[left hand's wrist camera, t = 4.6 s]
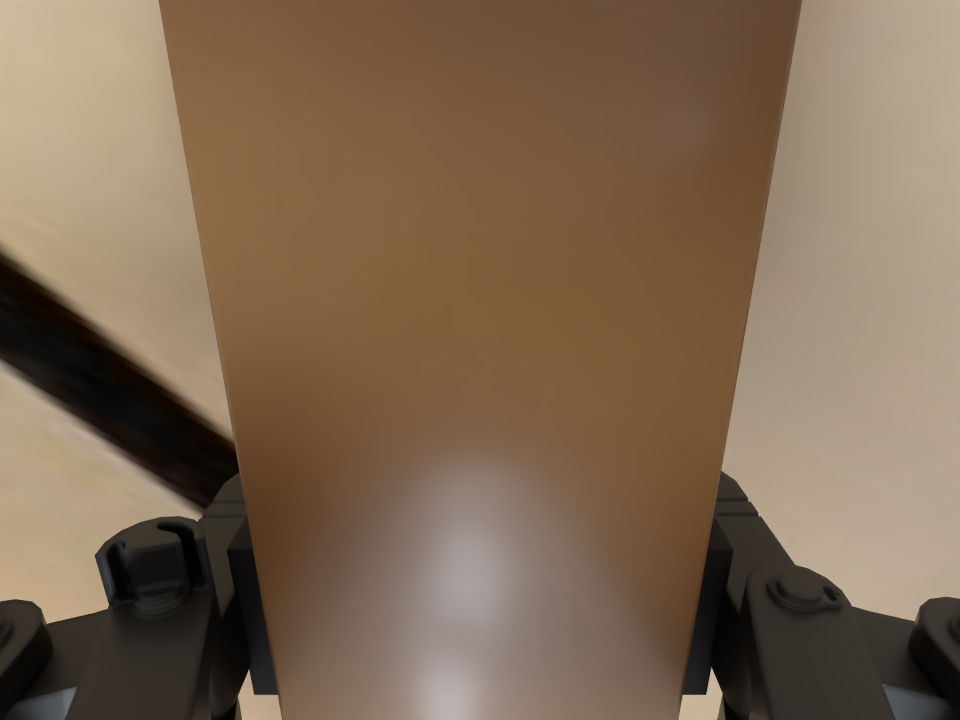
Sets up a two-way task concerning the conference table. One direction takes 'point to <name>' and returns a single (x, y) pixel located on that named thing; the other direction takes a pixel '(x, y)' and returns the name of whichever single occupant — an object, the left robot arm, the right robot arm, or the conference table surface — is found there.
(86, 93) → the conference table surface
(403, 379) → the beam
